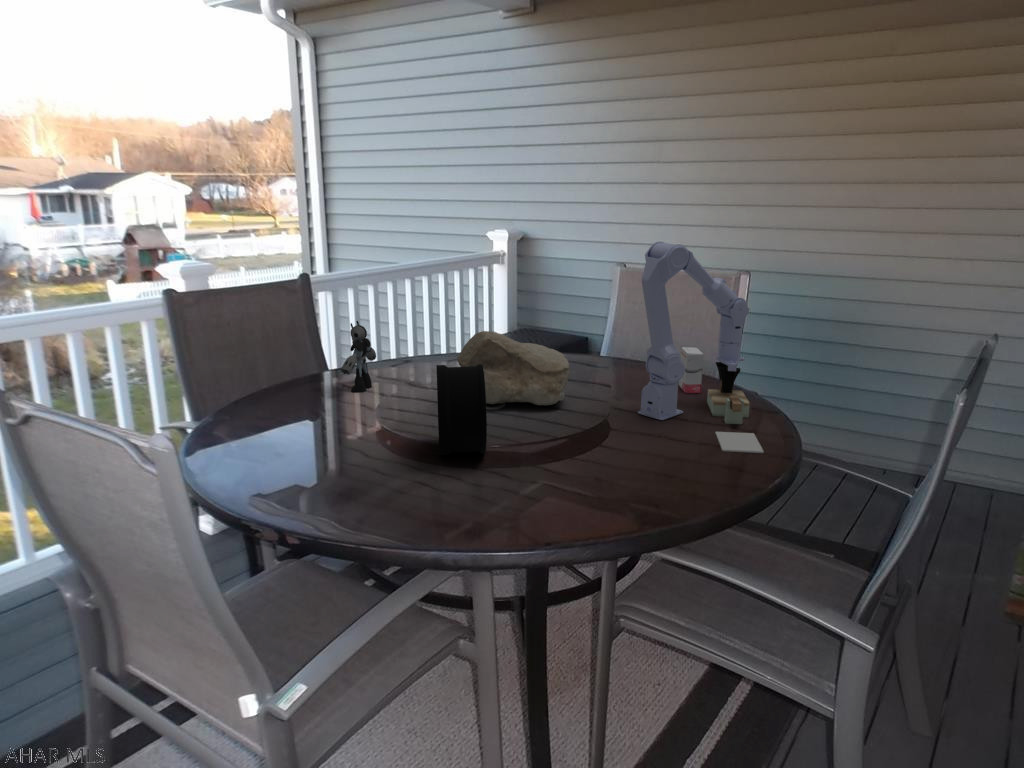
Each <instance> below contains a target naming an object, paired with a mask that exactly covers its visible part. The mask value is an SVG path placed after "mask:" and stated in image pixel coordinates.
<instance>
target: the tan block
mask: <svg viewBox="0 0 1024 768" xmlns="http://www.w3.org/2000/svg"><path fill="white" fill-rule="evenodd" d="M729 399H730V407H731V409H732V411H733V412H741V408H742V403H741V402H740V400H739V398H738V396H729Z"/></svg>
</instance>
